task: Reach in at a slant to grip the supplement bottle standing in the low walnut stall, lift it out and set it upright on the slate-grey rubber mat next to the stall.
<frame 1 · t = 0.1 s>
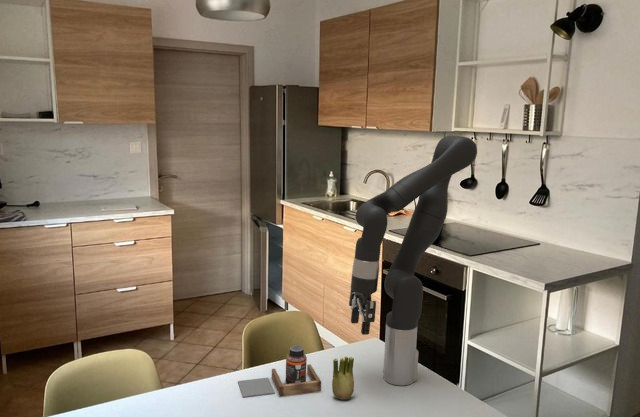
hand: (359, 328, 154), 17 cm above the table, tool pointing down, fingers open, 8 cm apart
slate mat: (256, 387, 153), on the table
supplement bottle: (295, 385, 155), on the table
fennel bulb: (342, 397, 149), on the table
walnut stall: (295, 384, 155), on the table
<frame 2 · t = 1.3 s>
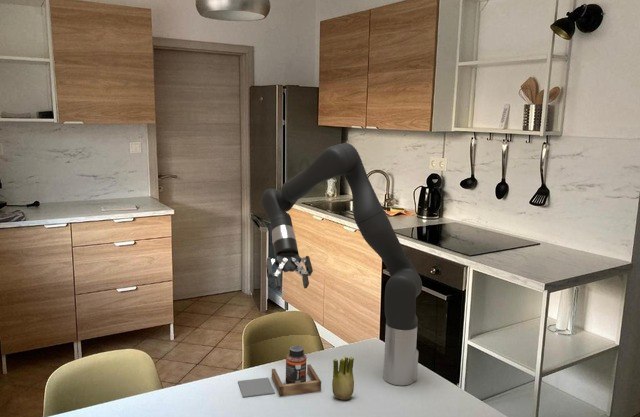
hand: (292, 288, 163), 25 cm above the table, tool tilted 45°, fingers open, 8 cm apart
nothing on the table moved.
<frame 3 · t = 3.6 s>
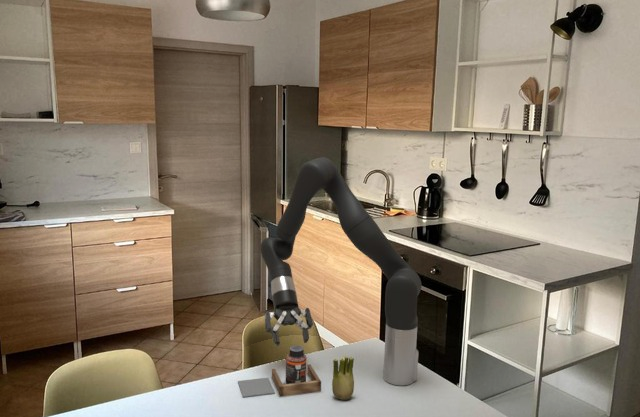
hand: (292, 343, 158), 11 cm above the table, tool tilted 45°, fingers open, 8 cm apart
nothing on the table moved.
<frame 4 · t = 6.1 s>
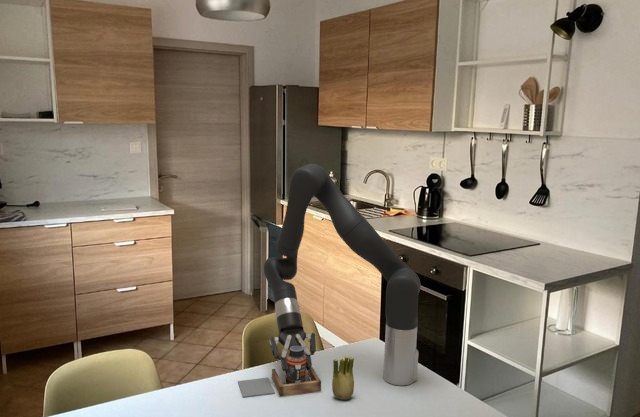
hand: (297, 370, 153), 5 cm above the table, tool tilted 45°, fingers closed on supplement bottle, 6 cm apart
supplement bottle: (295, 385, 155), on the table, touching gripper
everything else where it was.
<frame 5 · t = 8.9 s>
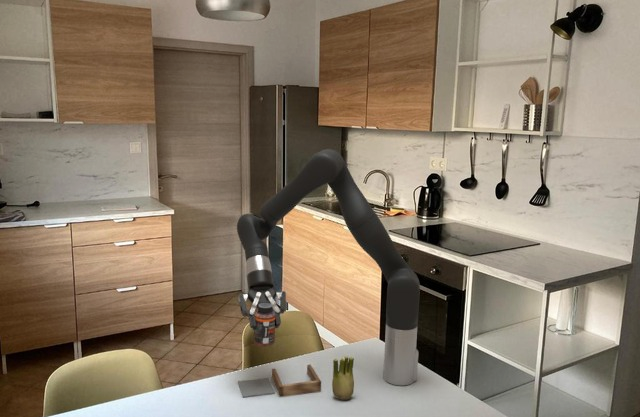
hand: (266, 327, 149), 19 cm above the table, tool tilted 45°, fingers closed on supplement bottle, 6 cm apart
supplement bottle: (264, 343, 152), point 13 cm above the table, touching gripper
everything else where it was.
when the fingers open (7 cm above the table, at t = 11.8 s): supplement bottle drops 1 cm, resting on slate mat.
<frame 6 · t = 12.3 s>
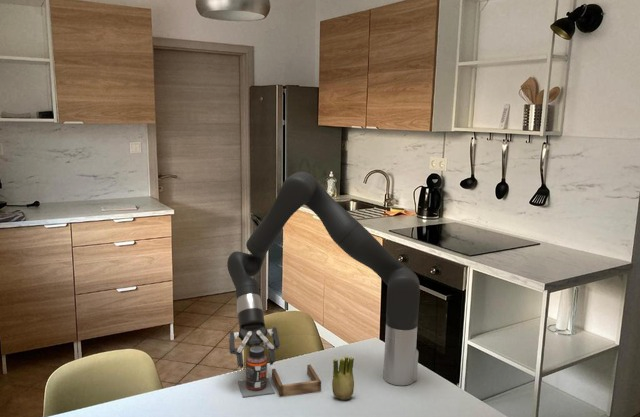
hand: (257, 365, 150), 8 cm above the table, tool tilted 45°, fingers open, 8 cm apart
supplement bottle: (256, 386, 153), resting on slate mat
everything else where it was.
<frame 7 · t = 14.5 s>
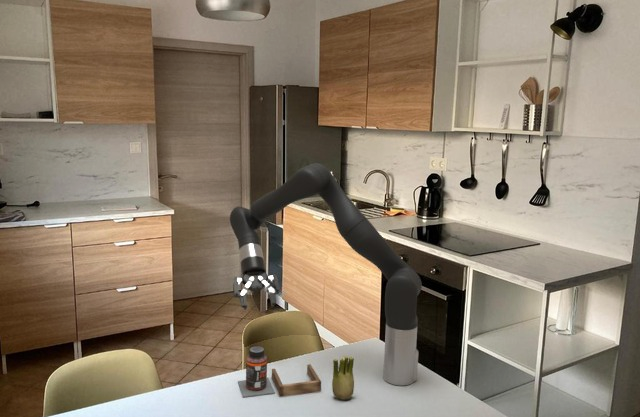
hand: (259, 307, 162), 20 cm above the table, tool tilted 45°, fingers open, 8 cm apart
nothing on the table moved.
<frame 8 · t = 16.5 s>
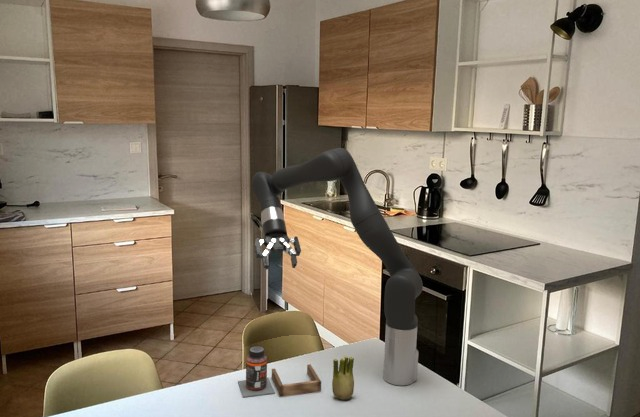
hand: (281, 267, 165), 31 cm above the table, tool tilted 45°, fingers open, 8 cm apart
nothing on the table moved.
at the end: supplement bottle inside the target area on the slate mat (0.2 cm from its centre), point 0.2 cm above the slate mat's base; supplement bottle tilted 0°; the gripper is holding nothing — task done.
